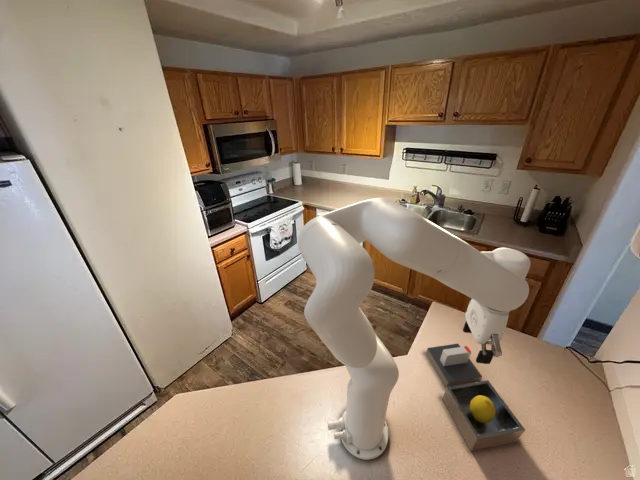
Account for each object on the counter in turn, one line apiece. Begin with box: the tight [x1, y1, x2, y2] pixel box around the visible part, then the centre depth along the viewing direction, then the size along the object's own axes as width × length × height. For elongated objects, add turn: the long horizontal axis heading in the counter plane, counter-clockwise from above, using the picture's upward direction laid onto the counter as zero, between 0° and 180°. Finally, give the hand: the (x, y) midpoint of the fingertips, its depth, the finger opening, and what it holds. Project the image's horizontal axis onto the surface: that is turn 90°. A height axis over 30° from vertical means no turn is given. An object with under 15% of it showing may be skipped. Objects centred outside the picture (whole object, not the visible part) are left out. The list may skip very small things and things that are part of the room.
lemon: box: [470, 395, 495, 423], centre depth 67 cm, size 6×6×8 cm
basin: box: [442, 379, 526, 452], centre depth 68 cm, size 13×13×6 cm
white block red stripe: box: [440, 345, 472, 366], centre depth 80 cm, size 8×2×5 cm, turn 98°
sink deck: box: [425, 343, 483, 389], centre depth 82 cm, size 11×12×3 cm
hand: (475, 346), depth 69 cm, fingers open, 9 cm apart
